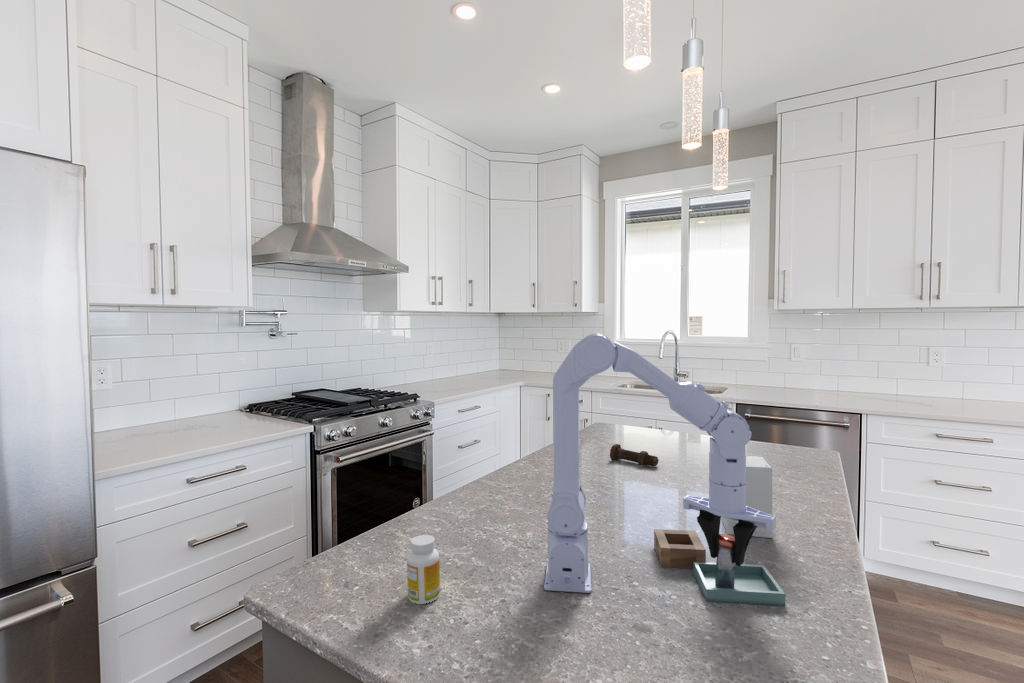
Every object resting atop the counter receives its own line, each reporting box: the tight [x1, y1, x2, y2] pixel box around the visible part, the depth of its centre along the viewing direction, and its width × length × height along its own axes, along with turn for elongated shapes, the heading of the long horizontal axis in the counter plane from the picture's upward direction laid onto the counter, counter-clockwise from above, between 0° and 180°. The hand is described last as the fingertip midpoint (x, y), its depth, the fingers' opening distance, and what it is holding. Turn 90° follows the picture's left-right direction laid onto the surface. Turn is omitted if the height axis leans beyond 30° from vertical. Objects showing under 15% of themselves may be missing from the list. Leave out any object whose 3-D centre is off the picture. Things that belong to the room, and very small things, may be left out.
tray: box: [692, 561, 786, 607], centre depth 82 cm, size 9×12×2 cm
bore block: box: [653, 528, 707, 569], centre depth 93 cm, size 8×8×4 cm
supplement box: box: [721, 455, 774, 539], centre depth 105 cm, size 9×9×15 cm
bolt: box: [609, 443, 659, 468], centre depth 154 cm, size 6×5×15 cm
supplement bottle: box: [406, 534, 441, 605], centre depth 81 cm, size 5×5×10 cm
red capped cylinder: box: [715, 533, 736, 589], centre depth 82 cm, size 3×3×8 cm
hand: (727, 559), depth 82 cm, fingers open, 3 cm apart
